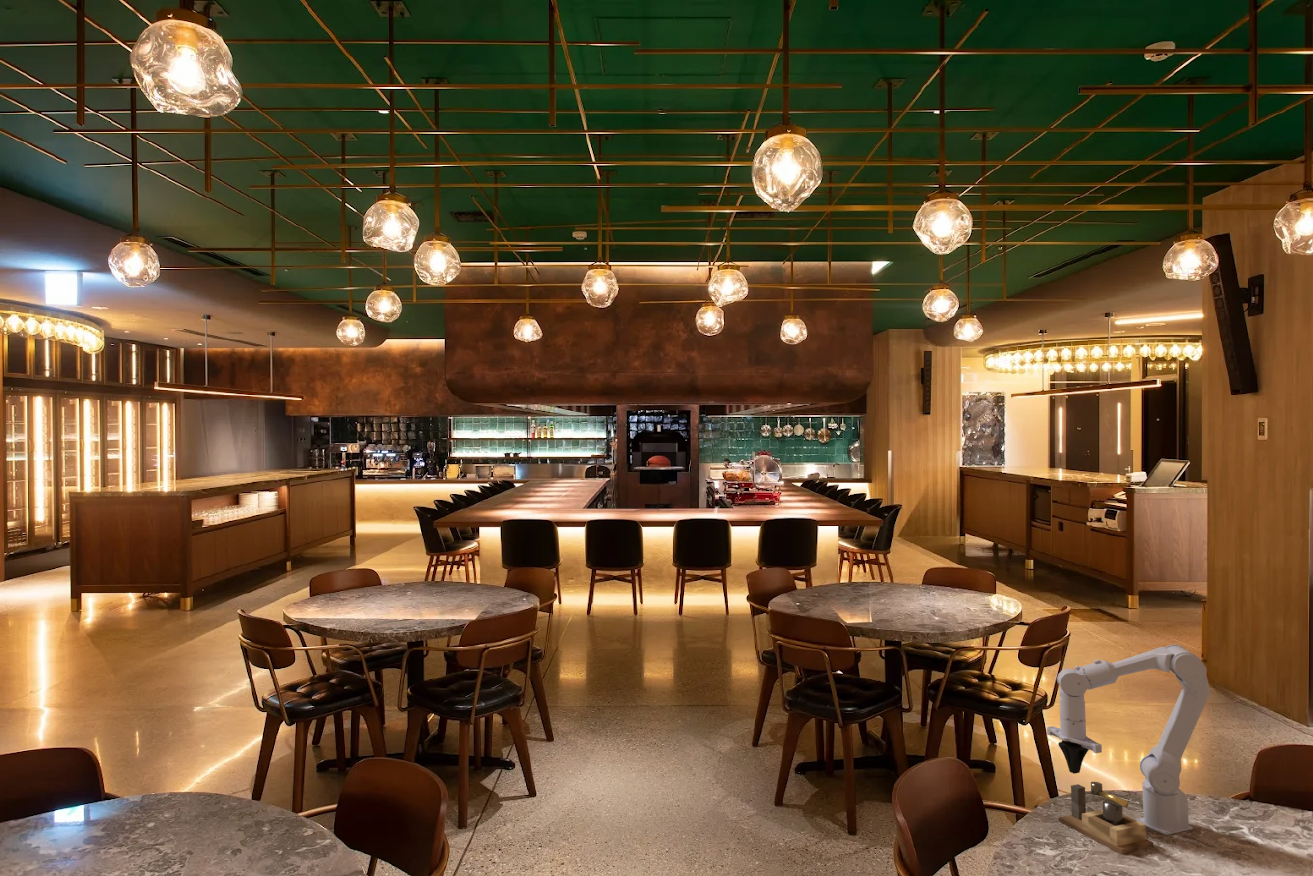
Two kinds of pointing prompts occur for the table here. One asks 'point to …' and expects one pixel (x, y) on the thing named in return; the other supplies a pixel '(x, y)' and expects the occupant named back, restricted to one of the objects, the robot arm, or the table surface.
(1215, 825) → the table surface
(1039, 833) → the table surface
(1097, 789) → the lock bolt
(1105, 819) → the black rounded block
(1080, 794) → the dock
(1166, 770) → the robot arm
